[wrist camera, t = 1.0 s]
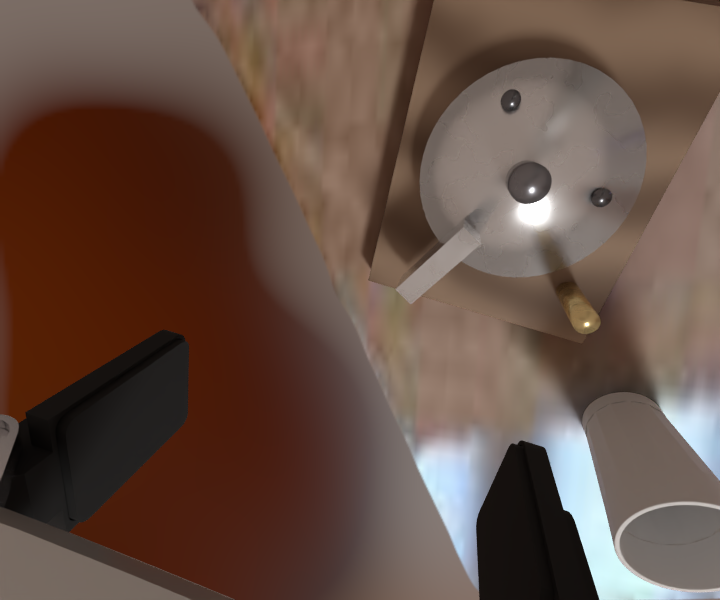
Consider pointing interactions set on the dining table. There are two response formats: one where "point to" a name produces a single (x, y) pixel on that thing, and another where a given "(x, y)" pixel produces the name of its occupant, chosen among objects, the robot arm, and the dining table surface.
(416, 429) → the dining table surface
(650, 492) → the cup
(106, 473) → the robot arm
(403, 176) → the base board
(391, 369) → the dining table surface
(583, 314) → the post and dowel
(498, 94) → the flange plate
